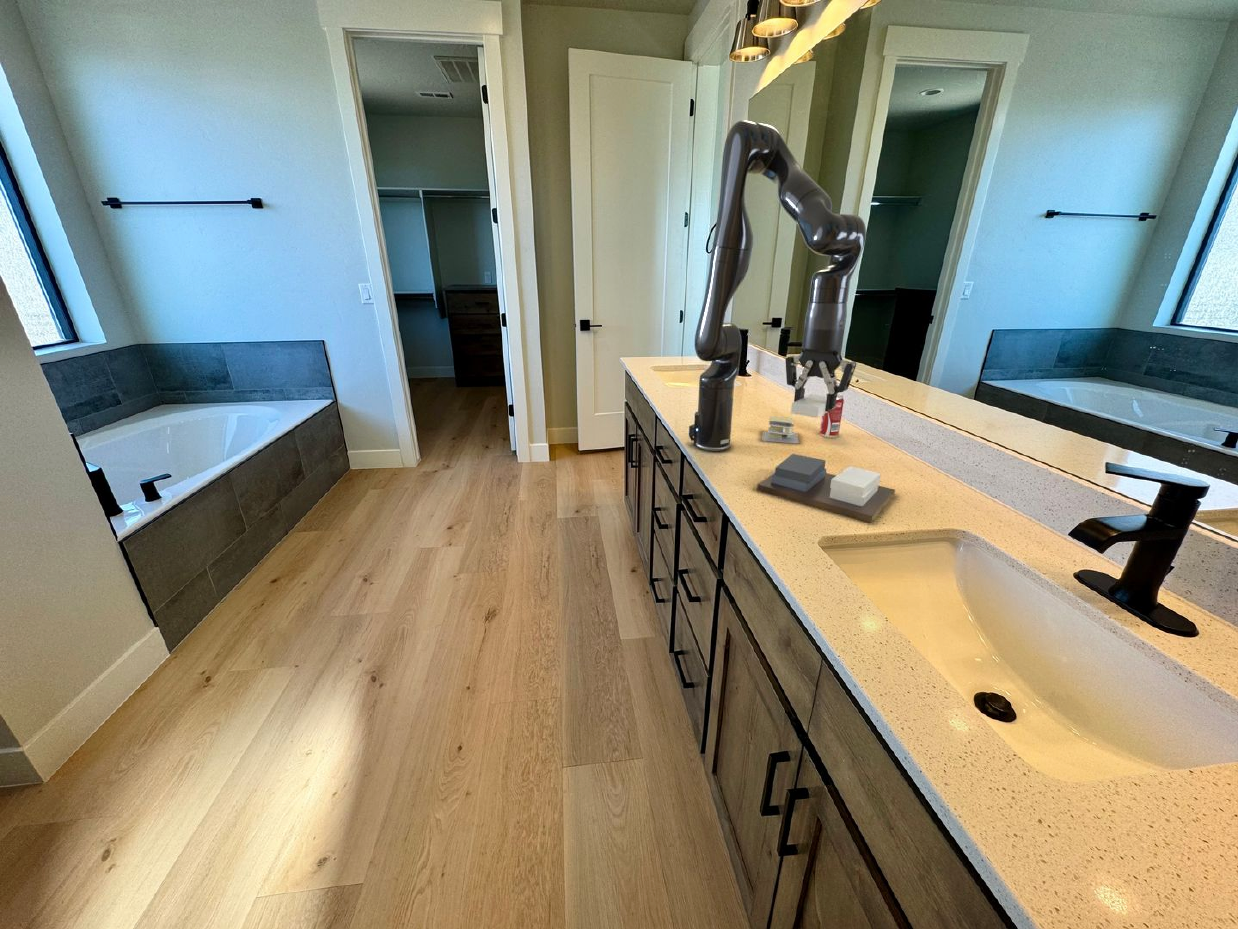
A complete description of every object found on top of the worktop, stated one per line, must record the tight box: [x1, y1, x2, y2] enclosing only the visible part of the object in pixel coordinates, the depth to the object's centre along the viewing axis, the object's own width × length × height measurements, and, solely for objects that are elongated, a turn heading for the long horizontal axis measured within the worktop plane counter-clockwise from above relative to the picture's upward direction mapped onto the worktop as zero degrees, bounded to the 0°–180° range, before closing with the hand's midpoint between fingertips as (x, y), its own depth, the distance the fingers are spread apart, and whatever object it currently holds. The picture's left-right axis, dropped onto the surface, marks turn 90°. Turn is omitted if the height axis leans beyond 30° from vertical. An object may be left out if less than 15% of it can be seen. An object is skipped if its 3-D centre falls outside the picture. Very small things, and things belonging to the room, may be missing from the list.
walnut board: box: [756, 472, 896, 524], centre depth 108 cm, size 24×16×2 cm, turn 48°
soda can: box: [819, 393, 845, 439], centre depth 143 cm, size 5×5×12 cm
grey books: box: [771, 453, 827, 492], centre depth 110 cm, size 8×11×4 cm
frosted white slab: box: [790, 393, 835, 419], centre depth 104 cm, size 6×10×2 cm, turn 138°
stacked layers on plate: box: [761, 416, 800, 444], centre depth 142 cm, size 10×9×6 cm
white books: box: [830, 466, 882, 506], centre depth 103 cm, size 7×10×4 cm
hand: (813, 408), depth 104 cm, fingers closed on frosted white slab, 5 cm apart
